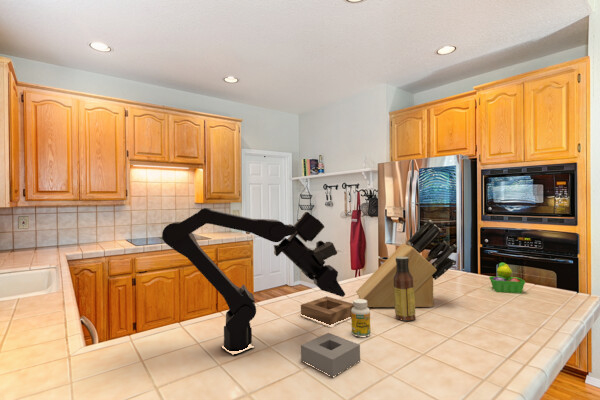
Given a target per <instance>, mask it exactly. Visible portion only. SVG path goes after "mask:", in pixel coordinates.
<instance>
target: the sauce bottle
mask: <svg viewBox="0 0 600 400" xmlns="http://www.w3.org/2000/svg"><path fill="white" fill-rule="evenodd" d="M408 262H409V258H408V257H396V264H397V269H396V270H397V271H396V274H395V276H394V299H395V307H394V310H395V311H394V312H395V317H396V318H397V319H398V318H399V319H398V320H400V319H402V320H401V321H404V320H408V321H407V322H410V321H409V320H412V321H414V320H415V319H416V307H415V298H414V286H413V277H412V275H411V274H410V272H409V267H408Z"/></svg>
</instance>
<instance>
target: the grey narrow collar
mask: <svg viewBox="0 0 600 400" xmlns="http://www.w3.org/2000/svg"><path fill="white" fill-rule="evenodd" d="M301 360H302V361H304V362H306V363H308V364H310V365H312V366H314V367H315V368H317V369H319V370H321V371H323V372H325V373H327V374H328V375H330V376H332V377H333V376H335V375H337V374H338V373H340V372H342V371H344V370H345V369H347V368H349V367H350V366H352V365H354V364H355V363H357V362H358V361H360V362H361V344H359V343H357V342H354V341H351V340H349V339H346V338H343V337H341V336H339V335H336V334H333V333H330V332H326V333H324V334H322V335H320V336H318V337H315V338H313V339H311V340H309V341H306V342H304V343H302V344H300V361H301ZM358 363H359V362H358ZM358 363H357V364H358ZM355 365H356V364H355ZM355 365H354V366H355ZM352 367H353V366H352ZM350 368H351V367H350ZM350 368H349V369H350ZM347 370H348V369H347ZM345 371H346V370H345ZM345 371H344V372H345ZM342 373H343V372H342ZM328 375H327V376H328ZM330 376H329V377H330ZM337 376H338V375H337ZM332 377H331V378H332Z"/></svg>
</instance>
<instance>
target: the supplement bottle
mask: <svg viewBox="0 0 600 400" xmlns="http://www.w3.org/2000/svg"><path fill="white" fill-rule="evenodd" d="M353 305H354V307H353V308H352V309H351V319H350V320H351V334H352V333H353V334H354V335H357V336H368V335H369V336H371V333H372V332H371V310H370V307H367V300H364V299H360V298H356V299H353ZM353 334H352V335H353ZM354 335H353V336H354ZM369 336H368V337H369Z"/></svg>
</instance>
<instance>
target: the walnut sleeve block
mask: <svg viewBox="0 0 600 400" xmlns="http://www.w3.org/2000/svg"><path fill="white" fill-rule="evenodd" d="M353 307H354V305H353V303H352V302H348V301H346V300H341V299H338V298H333V297H330V296H324V297H320V298H317V299H314V300H312V301H308V302H306V303H305V302H304V303H303V304H302V303H301V304H300V315H301V314H302V315H305V316H307V317H310V318H313V319H316V320H318V321H321V322H324V323H326V324H329V325H331V324H334V323H336V322H338V321H341V320H344V319H346V318H348V317H351V309H352V308H353Z"/></svg>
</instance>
